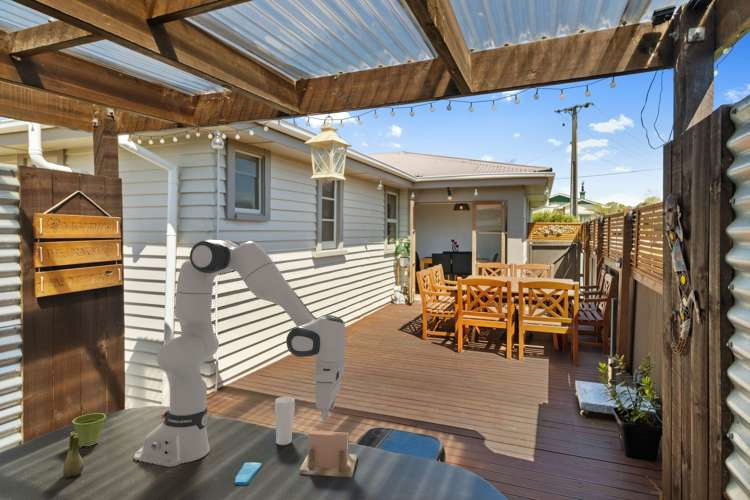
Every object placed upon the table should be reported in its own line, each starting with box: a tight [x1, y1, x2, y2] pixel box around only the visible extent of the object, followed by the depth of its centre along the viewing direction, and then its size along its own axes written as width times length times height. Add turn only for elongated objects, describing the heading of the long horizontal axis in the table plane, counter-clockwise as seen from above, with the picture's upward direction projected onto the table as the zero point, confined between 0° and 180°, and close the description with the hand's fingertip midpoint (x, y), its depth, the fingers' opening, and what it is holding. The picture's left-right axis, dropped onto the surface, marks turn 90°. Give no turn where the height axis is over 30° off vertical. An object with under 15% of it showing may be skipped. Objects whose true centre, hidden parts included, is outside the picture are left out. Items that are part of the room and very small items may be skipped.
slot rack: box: [298, 434, 358, 478], centre depth 130 cm, size 16×12×7 cm
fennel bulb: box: [62, 431, 85, 478], centre depth 121 cm, size 6×5×12 cm
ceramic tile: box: [307, 430, 349, 469], centre depth 127 cm, size 12×2×10 cm, turn 85°
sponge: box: [234, 461, 263, 486], centre depth 123 cm, size 2×12×6 cm
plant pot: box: [71, 412, 107, 446], centre depth 141 cm, size 9×9×9 cm
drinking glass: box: [274, 396, 296, 446], centre depth 145 cm, size 7×7×15 cm
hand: (328, 413), depth 127 cm, fingers open, 8 cm apart
